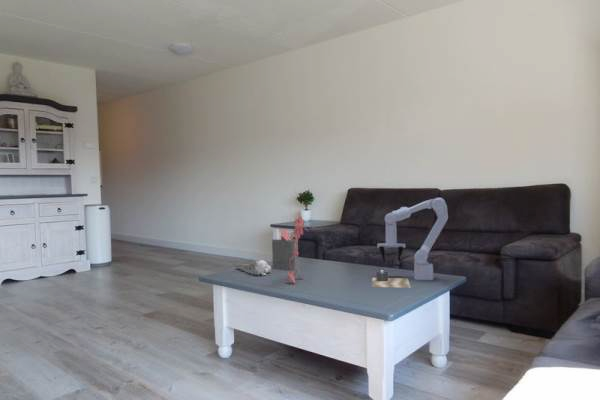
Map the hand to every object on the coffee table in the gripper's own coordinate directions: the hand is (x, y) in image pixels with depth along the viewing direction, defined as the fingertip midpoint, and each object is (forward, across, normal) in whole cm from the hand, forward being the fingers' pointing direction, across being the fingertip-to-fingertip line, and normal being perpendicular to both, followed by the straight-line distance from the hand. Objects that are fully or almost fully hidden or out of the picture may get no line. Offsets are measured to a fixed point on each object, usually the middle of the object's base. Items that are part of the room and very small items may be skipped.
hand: (391, 261), depth 225 cm
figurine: (+10, -47, -11) cm, 49 cm away
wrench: (+10, -83, +11) cm, 84 cm away
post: (+9, -5, -8) cm, 13 cm away
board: (+9, -1, -13) cm, 16 cm away
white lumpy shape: (+10, -71, +6) cm, 72 cm away
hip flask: (+10, -63, +22) cm, 67 cm away
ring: (+8, -5, -8) cm, 13 cm away
